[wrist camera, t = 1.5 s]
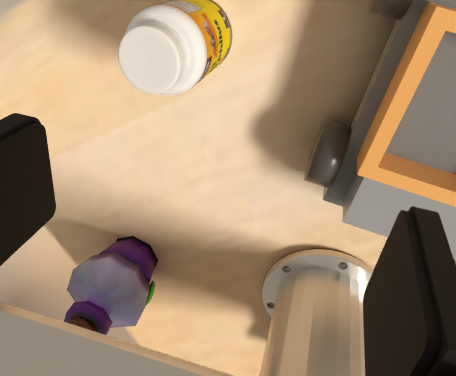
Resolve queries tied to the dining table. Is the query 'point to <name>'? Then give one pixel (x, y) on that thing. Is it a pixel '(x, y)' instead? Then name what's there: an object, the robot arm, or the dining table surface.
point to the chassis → (398, 126)
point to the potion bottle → (112, 286)
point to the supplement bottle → (174, 45)
